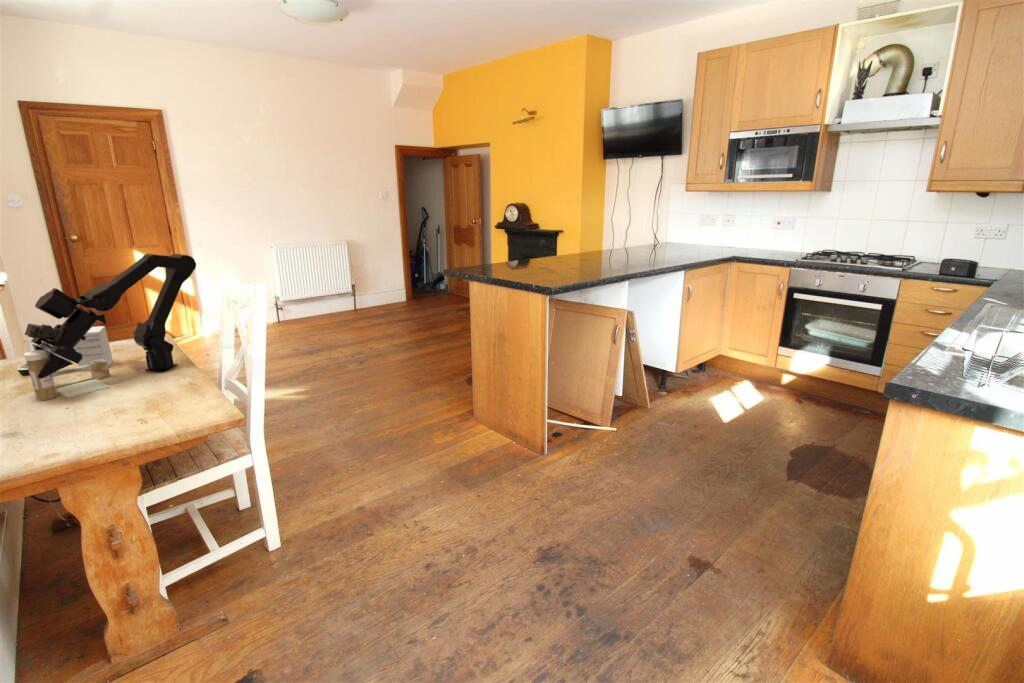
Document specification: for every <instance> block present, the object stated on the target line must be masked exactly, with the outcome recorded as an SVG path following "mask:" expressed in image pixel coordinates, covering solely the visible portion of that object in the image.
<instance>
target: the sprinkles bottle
mask: <svg viewBox="0 0 1024 683" xmlns="http://www.w3.org/2000/svg"><path fill="white" fill-rule="evenodd" d="M47 357H48V356H47V352H46V351H45V350H30V351H27V352H25V353H24V354H23V358H24V360H25V361H26V363H27V367H28V368H29V372H28V373H29V377H30V380H31V383H32V388H33V389H34V392H35V396H36V397H35V399H36V400H38V401H45V400H44V399H48V400H50V398H51V399H54V398H56V397H57V396H58V392H57V391H56V389H55V388H56V386H55V385H56V384H55V383H56V382H55V381H54V377H53V376H52V374H50V375H48V376H46V377H44V378H42V379H40V378H38V377H37V376H38V374H39V372H40V371H41V369H42V367H43V366H44V364H45V363H46V361H47V360H48V358H47ZM53 397H54V398H53Z"/></svg>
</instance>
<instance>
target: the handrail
mask: <svg viewBox="0 0 1024 683" xmlns="http://www.w3.org/2000/svg"><path fill="white" fill-rule="evenodd" d="M87 369H90V370H89V371H90V375H91V378H93V379H97V380H101V379H105V378H109V377H111V374H110V368H109V367H108V363H107V361H106V360H103V359H98V360H94V361H91V362H89V365H84V366H79V365H78V366H75V367H72V368H66V369H63V370H62V369H60V370H58V371H56V372H54V373H52V376H53V378H55V377H59V376H64V375H70V374H73V373H77V372H82V371H83V370H85V371H88V370H87ZM100 378H101V379H100Z"/></svg>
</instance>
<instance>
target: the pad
mask: <svg viewBox="0 0 1024 683" xmlns="http://www.w3.org/2000/svg"><path fill="white" fill-rule="evenodd" d="M108 387H109V388H110V387H111V386H110V384H107V383H105V382H102V380H100V379H95V378H93V379H89V380H86V381H82V382H75V383H73V384H68V385H65V386H60V387H55V389H56V392H57V391H58V392H59V394H60V393H61V394H63V395H64V397H65V396H66V397H67V398H66V397H65V398H66V399H69V398H68V397H70V398H73V397H72V396H74V397H78V396H81V395H80V394H82V395H85V394H84V393H86V394H89V393H88V392H90V393H93V392H92V391H94V392H97V391H96V390H98V391H101V390H104V388H105V389H109V388H108ZM100 389H101V390H100ZM58 392H57V393H58ZM61 394H60V395H61ZM63 395H62V396H63ZM77 395H78V396H77Z"/></svg>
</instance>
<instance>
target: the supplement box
mask: <svg viewBox="0 0 1024 683" xmlns="http://www.w3.org/2000/svg"><path fill="white" fill-rule="evenodd" d="M85 337H86V339H85V340H82V339H81V340H80V341H79V343H78V344H77V345H76V346H75V347H74V349H76V350H75V351H77V352H79V353H81V354H82V360H81V361H80V362H79V363H78V364H77V365H78V367H79V366H84V365H89V362H91V361H94V360H98V359H103V360H106V361H107V363H108V368H109V367H110V366H111V364H113V361H114V360H113V355H112V351H111V346H110V343H109V338H108V333H107V329H106V326H104V325H101V326H92V327H91V328H90V330H89V331H88V332H87V333H86V334H85ZM86 371H91V370H90V369H87V370H86Z"/></svg>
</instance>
